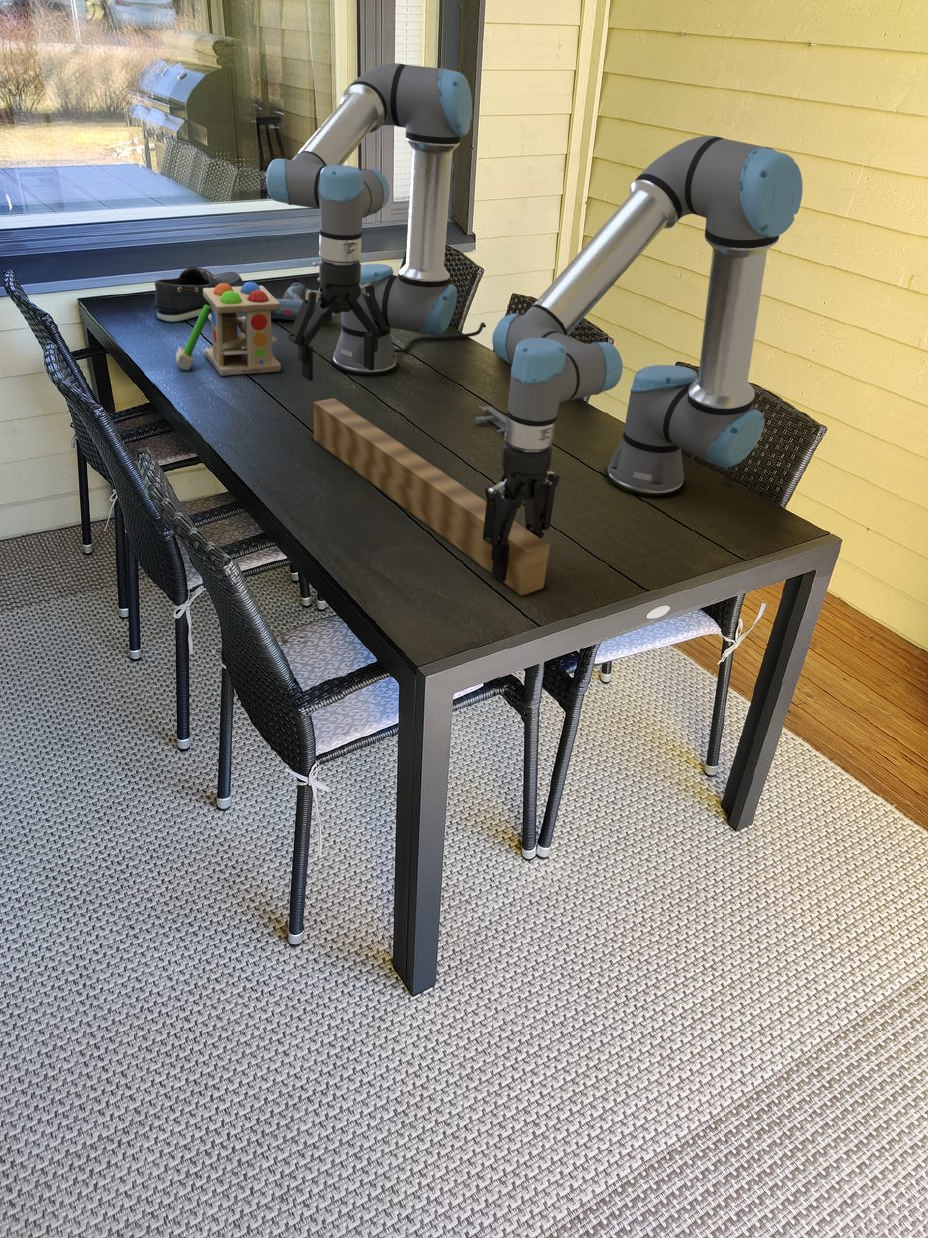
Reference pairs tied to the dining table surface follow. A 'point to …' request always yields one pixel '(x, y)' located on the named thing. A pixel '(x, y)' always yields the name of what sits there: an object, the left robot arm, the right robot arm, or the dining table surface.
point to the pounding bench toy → (229, 347)
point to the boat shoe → (188, 292)
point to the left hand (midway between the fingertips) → (338, 373)
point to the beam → (427, 493)
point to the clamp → (491, 417)
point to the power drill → (293, 304)
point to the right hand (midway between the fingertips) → (511, 572)
